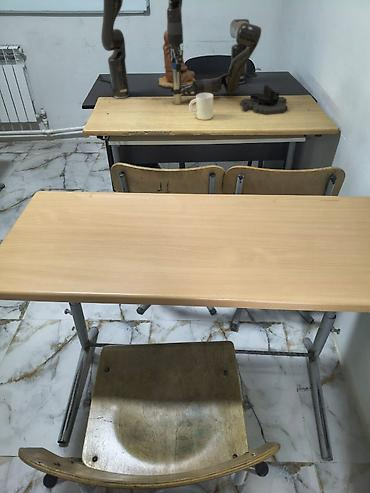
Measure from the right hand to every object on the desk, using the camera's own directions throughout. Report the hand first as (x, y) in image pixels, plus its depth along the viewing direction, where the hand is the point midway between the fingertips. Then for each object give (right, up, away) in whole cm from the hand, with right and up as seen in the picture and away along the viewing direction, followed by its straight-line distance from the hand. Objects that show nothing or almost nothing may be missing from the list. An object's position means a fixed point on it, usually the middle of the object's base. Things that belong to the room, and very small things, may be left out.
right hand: (172, 91), depth 190 cm
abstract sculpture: (+49, -10, -4) cm, 50 cm away
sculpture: (+2, +20, +34) cm, 40 cm away
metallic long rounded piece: (+3, -4, +5) cm, 7 cm away
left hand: (+2, +8, -6) cm, 10 cm away
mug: (+15, -19, -13) cm, 27 cm away
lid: (+2, +11, -8) cm, 13 cm away
